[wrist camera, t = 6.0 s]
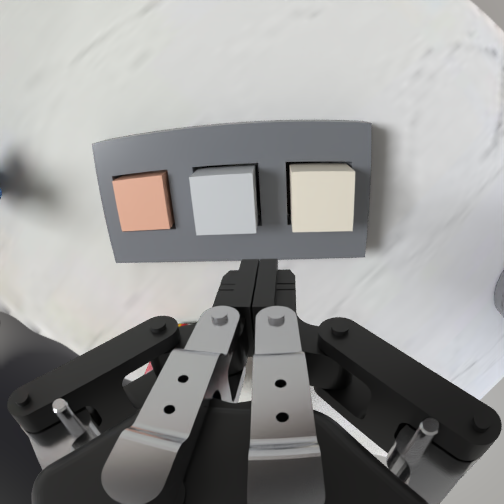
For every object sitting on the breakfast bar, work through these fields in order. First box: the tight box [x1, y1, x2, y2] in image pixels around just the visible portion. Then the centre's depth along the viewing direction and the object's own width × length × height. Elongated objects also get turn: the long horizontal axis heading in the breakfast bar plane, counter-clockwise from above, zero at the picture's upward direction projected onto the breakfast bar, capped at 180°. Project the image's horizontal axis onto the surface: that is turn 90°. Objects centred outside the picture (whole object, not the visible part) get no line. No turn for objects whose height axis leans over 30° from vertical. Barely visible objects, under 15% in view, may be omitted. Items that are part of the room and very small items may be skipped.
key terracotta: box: [112, 170, 175, 231], centre depth 26 cm, size 4×4×3 cm
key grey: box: [189, 165, 258, 235], centre depth 24 cm, size 4×4×3 cm
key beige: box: [289, 163, 355, 232], centre depth 23 cm, size 4×4×3 cm
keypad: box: [92, 120, 372, 263], centre depth 25 cm, size 22×11×2 cm, turn 94°
